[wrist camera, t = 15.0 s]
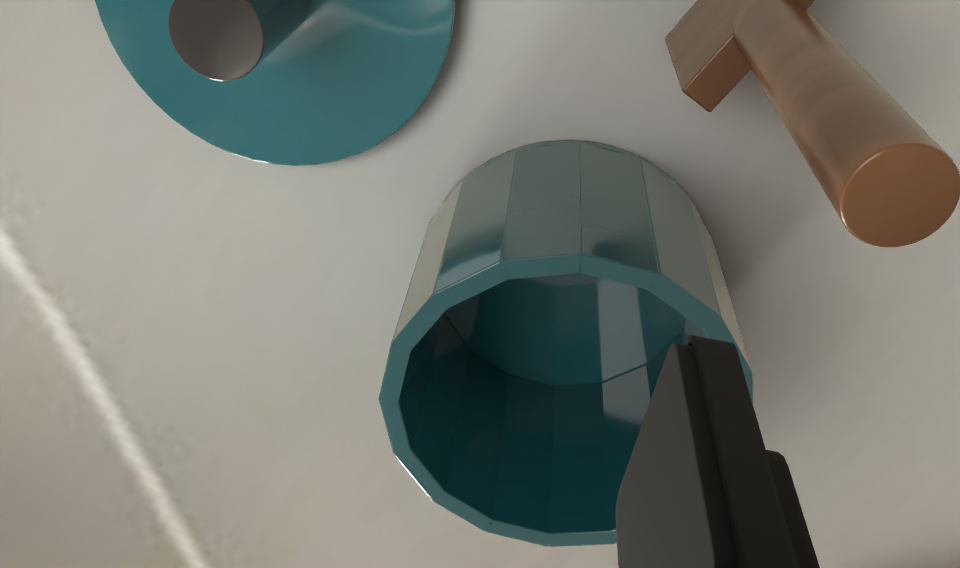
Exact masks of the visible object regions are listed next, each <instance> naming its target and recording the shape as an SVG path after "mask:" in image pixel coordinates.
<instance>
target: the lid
mask: <svg viewBox="0 0 960 568" xmlns="http://www.w3.org/2000/svg"><path fill="white" fill-rule="evenodd" d="M95 2H96V5H97V8H98V11H99V15H100V18H101V20H102V23H103V25H104V27H105V30H106V32H107V34H108V36H109V39H110V41H111V43H112V45H113V47H114V48H115V50H116V52H117V54H118V55H119V57H120V59H121V61H122V62H123V64H124V65H125V67H126V68H127V70H128V71H129V72H130V74H131V75H132V76H133V78H134V79H135V81H136V82H137V83H138V85H139V86H140V87H141V88H142V89H143V90H144V91H145V92H146V94H147V95H148V96H149V97H150V98H151V99H152V100H153V101H154V102H155V103H156V104H157V105H158V106H159V107H160V108H161V109H162V110H163V111H164V112H165V113H167V114H168V115H169V116H170V117H171V118H172V119H173V120H175V121H176V122H178V123H179V124H180V125H182V126H183V127H184V128H186V129H187V130H188V131H190V132H191V133H193V134H195V135H196V136H198V137H200V138H202V139H203V140H205V141H207V142H208V143H210V144H212V145H214V146H217V147H219V148H221V149H223V150H226V151H228V152H230V153H233V154H236V155H239V156H242V157H245V158H248V159H251V160H256V161H261V162H266V163H271V164H280V165H294V166H298V165H317V164H322V163H328V162H333V161H338V160H341V159H344V158H347V157H351V156H354V155H357V154H359V153H361V152H363V151H365V150H367V149H369V148H371V147H373V146H375V145H377V144H379V143H380V142H382V141H383V140H385V139H386V138H388V137H389V136H391V135H392V134H393V133H395V132H396V131H397V130H398V129H399V128H400V127H401V126H402V125H403V124H405V123H406V122H407V121H408V120H409V119H410V118H411V117H412V115H413V114H414V113H415V112H416V111H417V109H418V108H419V107H420V106H421V105H422V103H423V102H424V100H425V99H426V97H427V96H428V94H429V92H430V91H431V89H432V87H433V86H434V84H435V82H436V80H437V78H438V75H439V73H440V71H441V69H442V66H443V64H444V62H445V59H446V56H447V52H448V49H449V45H450V42H451V38H452V32H453V25H454V19H455V0H95Z"/></svg>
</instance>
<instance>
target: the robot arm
mask: <svg viewBox="0 0 960 568" xmlns="http://www.w3.org/2000/svg"><path fill="white" fill-rule="evenodd" d="M616 531H617V548H618V565H619V568H820V567H819V564H818V561H817V557H816V554H815V551H814V548H813V545H812V541H811V538H810V535H809V532H808V529H807V525H806V522H805V519H804V516H803V512H802V509H801V506H800V503H799V500H798V496H797V493H796V490H795V487H794V484H793V480H792V477H791V474H790V471H789V467H788V465H787V463H786V460H785V458H784V456H782V455H781V454H780V453H779V452H774V451H769V450H765V446H764V443H763V439H762V436H761V432H760V429H759V425H758V422H757V418H756V415H755V411H754V408H753V404H752V401H751V397H750V394H749V390H748V387H747V383H746V380H745V376H744V372H743V369H742V365H741V362H740V358H739V355H738V351H737V348H736V346H735V344H733V343H731V342H726V341H721V340H716V339H710V338H705V337H700V336H695V335H691V336H689V337H688V339H687V340H686V342H685V344H679V343H672V345H671V346H670V348H669V350H668V353H667V355H666V358H665V361H664V364H663V367H662V370H661V372H660V375H659V378H658V381H657V384H656V386H655V389H654V392H653V395H652V398H651V401H650V403H649V406H648V409H647V412H646V415H645V418H644V420H643V423H642V426H641V429H640V432H639V435H638V437H637V440H636V443H635V446H634V449H633V451H632V454H631V457H630V460H629V463H628V466H627V468H626V471H625V474H624V477H623V480H622V483H621V485H620V489H619V492H618V497H617V503H616Z"/></svg>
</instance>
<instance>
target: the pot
mask: <svg viewBox="0 0 960 568" xmlns="http://www.w3.org/2000/svg"><path fill="white" fill-rule="evenodd" d="M691 335H695V336H700V337H705V338H710V339H716V340H721V341H726V342H731V343H733V344H735V346H736V348H737V351H738V355H739V358H740V362H741V365H742V369H743V372H744V376H745V380H746V383H747V387H748V390H749V394H750V397H751V401H752V404H753V373H752V369H751V366H750V362H749V359H748V356H747V352H746V349H745V346H744V342H743V339H742V336H741V332H740V329H739V326H738V322H737V319H736V316H735V312H734V309H733V306H732V302H731V299H730V296H729V292H728V289H727V285H726V282H725V279H724V275H723V272H722V269H721V265H720V262H719V259H718V255H717V252H716V249H715V245H714V242H713V240H712V238H711V236H710V234H709V232H708V230H707V229H706V227H705V224H704V222H703V220H702V217H701V215H700V213H699V211H698V210H697V208H696V207H695V205H694V204H693V202H692V200H691V199H690V197H689V195H688V194H687V193H686V192H685V191H684V190H683V189H682V188H681V187H680V186H679V185H678V184H677V183H676V182H675V181H674V180H673V179H672V178H670V177H669V176H668V175H667V174H666V173H665V172H664V171H662V170H661V169H659V168H658V167H656V166H654V165H653V164H651V163H650V162H648V161H647V160H645V159H643V158H641V157H638V156H636V155H634V154H632V153H630V152H628V151H625V150H622V149H618V148H615V147H612V146H609V145H604V144H599V143H594V142H587V141H573V140H564V141H547V142H542V143H536V144H531V145H526V146H523V147H520V148H517V149H514V150H510V151H508V152H506V153H503V154H501V155H499V156H497V157H495V158H492V159H490V160H489V161H487V162H486V163H484V164H482V165H481V166H479V167H478V168H476V169H475V170H473V171H472V172H471V173H470V174H468V175H467V176H466V177H465V178H464V179H462V180H461V181H460V182H459V183H458V184H457V185H456V187H455V188H454V189H453V190H452V191H451V192H450V193H449V194H448V195H447V197H446V198H445V200H444V201H443V203H442V204H441V206H440V207H439V209H438V211H437V213H436V214H435V215H434V216H433V218H432V219H431V221H430V222H429V225H428V228H427V232H426V235H425V238H424V241H423V244H422V247H421V250H420V254H419V257H418V260H417V263H416V266H415V269H414V273H413V276H412V279H411V282H410V285H409V288H408V292H407V295H406V298H405V301H404V304H403V307H402V311H401V314H400V317H399V320H398V323H397V326H396V330H395V333H394V336H393V339H392V342H391V346H390V350H389V355H388V359H387V364H386V368H385V373H384V377H383V382H382V386H381V391H380V395H379V402H380V406H381V409H382V413H383V417H384V420H385V424H386V428H387V431H388V435H389V439H390V442H391V446H392V450H393V453H394V454H395V456H396V458H397V459H398V460H399V461H400V462H401V464H402V465H403V466H404V467H405V468H406V470H407V471H408V472H409V473H410V475H411V476H412V477H413V478H414V479H415V481H416V482H417V483H418V484H419V485H420V487H421V488H422V489H423V490H424V491H425V493H426V494H427V495H428V496H429V497H430V498H431V499H432V501H434V502H435V503H437V504H439V505H441V506H442V507H444V508H446V509H447V510H449V511H451V512H452V513H454V514H456V515H458V516H459V517H461V518H463V519H464V520H466V521H468V522H470V523H471V524H473V525H475V526H476V527H478V528H480V529H481V530H483V531H486V532H489V533H493V534H497V535H501V536H505V537H509V538H514V539H518V540H522V541H526V542H530V543H534V544H539V545H543V546H547V547H548V546H550V547H556V546H580V545H605V544H614V543H617V531H616V503H617V497H618V492H619V489H620V485H621V483H622V480H623V477H624V474H625V471H626V468H627V466H628V463H629V460H630V457H631V454H632V451H633V449H634V446H635V443H636V440H637V437H638V435H639V432H640V429H641V426H642V423H643V420H644V418H645V415H646V412H647V409H648V406H649V403H650V401H651V398H652V395H653V392H654V389H655V386H656V384H657V381H658V378H659V375H660V372H661V370H662V367H663V364H664V361H665V358H666V355H667V353H668V350H669V348H670V346H671V345H672V343H679V344H685V342H686V340H687V339H688V337H689V336H691Z"/></svg>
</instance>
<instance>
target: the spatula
mask: <svg viewBox="0 0 960 568" xmlns="http://www.w3.org/2000/svg"><path fill="white" fill-rule="evenodd" d="M814 1H815V0H697V2H696V3H695V4H694V5H693V6H692V7H691V9H690V10H689V11H688V12H687V13H686V14H685V16H684V17H683V18H682V19H681V20H680V22H679V23H678V24H677V25H676V26H675V27H674V29H673V30H672V31H671V32H670V33H669V34H668V36H667V37H666V38H665V41H666V44H667V47H668V50H669V53H670V56H671V59H672V62H673V65H674V67H675V70H676V73H677V76H678V79H679V82H680V85H681V88H682V91H683V92H684V93H685V94H687V95H688V96H689V97H690V98H692V99H693V100H694V101H695V102H697V103H698V104H699V105H700V106H702V107H703V108H704V109H705V110H707V111H708V112H711V111H712V110H713V109H714V108H715V107H716V106H717V105H718V104H719V103H720V102H721V101H722V100H723V98H724V97H725V96H726V95H727V94H728V93H729V92H730V91H731V90H732V89H733V88H734V87H735V86H736V84H737V83H738V82H739V81H740V80H741V79H742V78H743V77H744V76H745V75H746V74H747V73H748V72H749V71H750V69H752V71H753V73H754V74H755V76H756V78H757V79H758V81H759V83H760V84H761V86H762V88H763V89H764V91H765V93H766V94H767V96H768V98H769V99H770V101H771V103H772V104H773V106H774V108H775V109H776V111H777V113H778V114H779V116H780V118H781V119H782V121H783V123H784V125H785V126H786V128H787V130H788V131H789V133H790V135H791V136H792V138H793V140H794V141H795V143H796V145H797V146H798V148H799V150H800V151H801V153H802V155H803V156H804V158H805V160H806V161H807V163H808V165H809V166H810V168H811V170H812V171H813V173H814V175H815V176H816V178H817V180H818V181H819V183H820V185H821V186H822V188H823V190H824V192H825V193H826V195H827V197H828V198H829V200H830V202H831V203H832V205H833V207H834V208H835V210H836V212H837V213H838V215H839V217H840V218H841V220H842V222H843V223H844V225H845V227H846V228H847V229H848V231H849V232H850V233H851V234H852V235H854V236H855V237H856V238H858V239H859V240H861V241H863V242H865V243H868V244H871V245H875V246H880V247H899V246H905V245H908V244H912V243H915V242H917V241H920V240H922V239H924V238H926V237H928V236H929V235H931V234H932V233H934V232H935V231H936V230H938V229H939V228H940V227H941V226H942V225H943V224H944V223H945V222H946V221H947V220H948V219H949V217H950V216H951V214H952V213H953V211H954V209H955V207H956V205H957V203H958V200H959V196H960V174H959V171H958V168H957V166H956V164H955V163H954V162H953V160H952V159H951V158H950V157H949V156H948V155H947V154H946V153H945V152H944V151H943V150H942V149H941V147H940V146H939V145H938V144H937V143H936V142H935V141H934V140H933V139H932V138H931V137H930V136H929V135H928V134H927V133H926V132H925V131H924V130H923V129H922V128H921V127H920V126H919V125H918V124H917V123H916V122H915V121H914V120H913V119H912V118H911V117H910V116H909V115H908V114H907V113H906V112H905V111H904V110H903V109H902V107H901V106H900V105H899V104H898V103H897V102H896V101H895V100H894V99H893V98H892V97H891V96H890V95H889V94H888V93H887V92H886V91H885V90H884V89H883V88H882V87H881V86H880V85H879V84H878V83H877V82H876V81H875V80H874V79H873V78H872V77H871V76H870V75H869V74H868V73H867V72H866V71H865V70H864V69H863V67H862V66H861V65H860V64H859V63H858V62H857V61H856V60H855V59H854V58H853V57H852V56H851V55H850V54H849V53H848V52H847V51H846V50H845V49H844V48H843V47H842V46H841V45H840V44H839V43H838V42H837V41H836V40H835V39H834V38H833V37H832V36H831V35H830V34H829V33H828V32H827V31H826V30H825V29H824V27H823V26H822V25H821V24H820V23H819V22H818V21H817V20H816V19H815V18H814V17H813V16H812V15H811V14H810V13H809V12H808V11H807V10H806V9H807V8H808V7H809V6H810V5H811V4H812V3H813V2H814Z"/></svg>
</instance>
